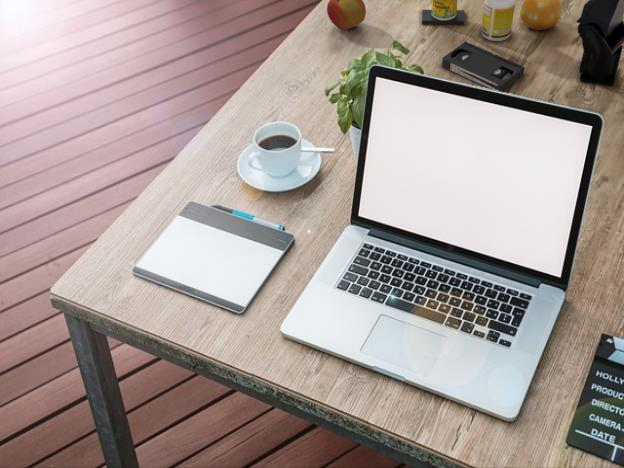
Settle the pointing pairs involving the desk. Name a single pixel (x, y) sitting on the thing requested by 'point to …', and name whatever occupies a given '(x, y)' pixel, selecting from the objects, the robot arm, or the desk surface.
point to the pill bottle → (497, 19)
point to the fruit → (540, 13)
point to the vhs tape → (482, 67)
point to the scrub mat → (429, 19)
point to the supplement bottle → (444, 9)
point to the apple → (346, 13)
